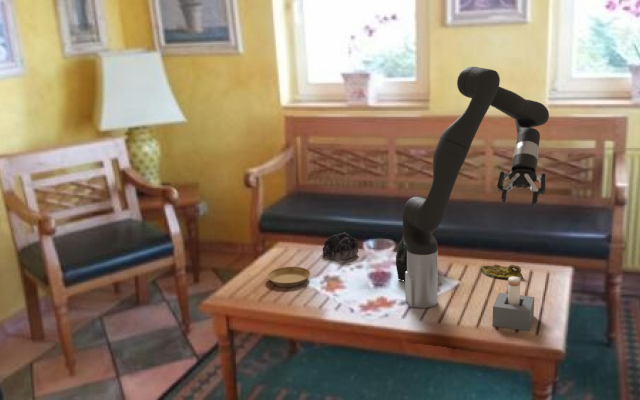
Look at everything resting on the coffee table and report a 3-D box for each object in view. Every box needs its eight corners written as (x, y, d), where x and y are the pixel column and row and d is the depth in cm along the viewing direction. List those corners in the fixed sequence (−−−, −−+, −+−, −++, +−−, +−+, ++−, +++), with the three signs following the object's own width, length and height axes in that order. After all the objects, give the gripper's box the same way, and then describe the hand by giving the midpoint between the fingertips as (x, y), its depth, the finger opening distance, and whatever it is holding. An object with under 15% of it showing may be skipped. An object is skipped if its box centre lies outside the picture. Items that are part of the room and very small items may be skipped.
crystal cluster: (324, 250, 257) (320, 227, 253) (358, 246, 256) (355, 223, 252) (323, 265, 244) (319, 241, 241) (359, 261, 243) (356, 237, 240)
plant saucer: (280, 271, 237) (280, 264, 237) (318, 276, 231) (317, 269, 230) (260, 286, 225) (259, 279, 224) (298, 292, 218) (298, 285, 218)
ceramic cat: (427, 262, 238) (426, 209, 232) (442, 266, 233) (442, 212, 228) (392, 279, 224) (391, 223, 219) (408, 284, 220) (407, 227, 214)
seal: (474, 277, 226) (517, 285, 217) (474, 265, 224) (517, 273, 215) (485, 265, 233) (527, 273, 224) (485, 253, 231) (527, 261, 222)
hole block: (529, 331, 184) (529, 311, 183) (492, 325, 188) (492, 306, 187) (533, 315, 193) (534, 296, 191) (498, 311, 197) (499, 292, 196)
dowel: (510, 320, 189) (511, 281, 186) (505, 315, 192) (506, 277, 189) (521, 319, 189) (522, 280, 186) (516, 314, 192) (517, 275, 189)
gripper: (501, 151, 210) (493, 195, 203) (548, 153, 204) (542, 199, 198) (503, 164, 216) (496, 207, 209) (549, 166, 211) (543, 211, 204)
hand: (518, 203), depth 204 cm, fingers open, 8 cm apart
